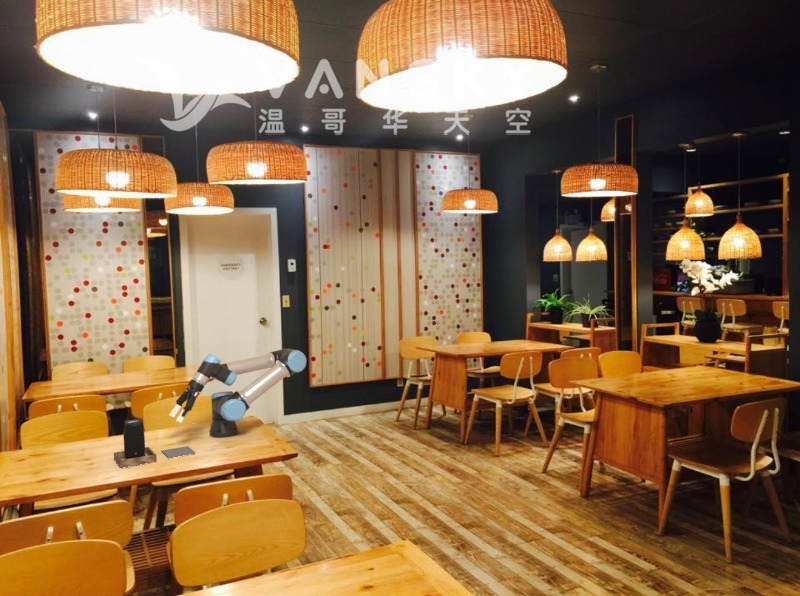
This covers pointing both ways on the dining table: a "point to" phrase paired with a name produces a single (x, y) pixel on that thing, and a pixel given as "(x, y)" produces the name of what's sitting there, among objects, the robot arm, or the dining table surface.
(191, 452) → the rubber mat
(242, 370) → the robot arm
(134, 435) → the portable speaker
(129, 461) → the walnut collar
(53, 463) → the dining table surface
